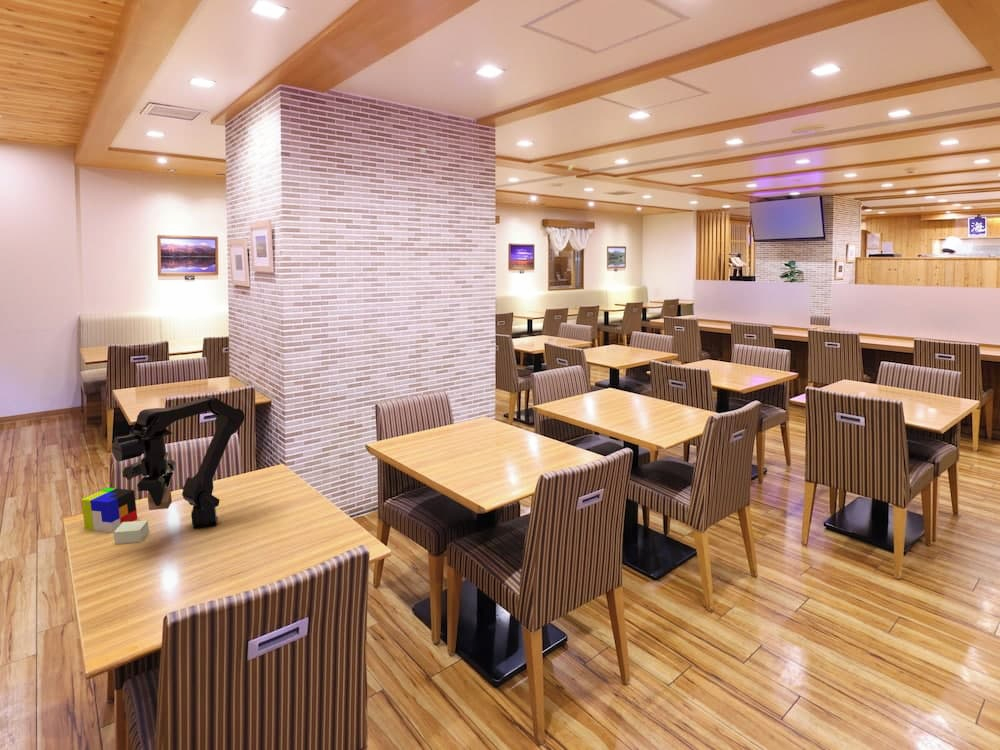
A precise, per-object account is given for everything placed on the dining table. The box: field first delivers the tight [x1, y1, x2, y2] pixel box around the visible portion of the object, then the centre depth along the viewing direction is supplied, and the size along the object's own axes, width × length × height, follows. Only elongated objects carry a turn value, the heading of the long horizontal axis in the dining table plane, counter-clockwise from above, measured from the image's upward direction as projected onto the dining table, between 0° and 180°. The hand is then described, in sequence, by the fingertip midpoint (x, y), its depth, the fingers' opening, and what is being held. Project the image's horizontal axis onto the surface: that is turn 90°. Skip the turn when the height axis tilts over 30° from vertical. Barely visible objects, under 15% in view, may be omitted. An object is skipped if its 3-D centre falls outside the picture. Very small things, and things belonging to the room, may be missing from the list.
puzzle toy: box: [80, 487, 138, 533], centre depth 193 cm, size 10×10×10 cm
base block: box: [113, 520, 150, 545], centre depth 185 cm, size 7×7×4 cm
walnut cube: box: [146, 485, 173, 511], centre depth 181 cm, size 5×5×5 cm
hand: (160, 502), depth 182 cm, fingers closed on walnut cube, 5 cm apart
